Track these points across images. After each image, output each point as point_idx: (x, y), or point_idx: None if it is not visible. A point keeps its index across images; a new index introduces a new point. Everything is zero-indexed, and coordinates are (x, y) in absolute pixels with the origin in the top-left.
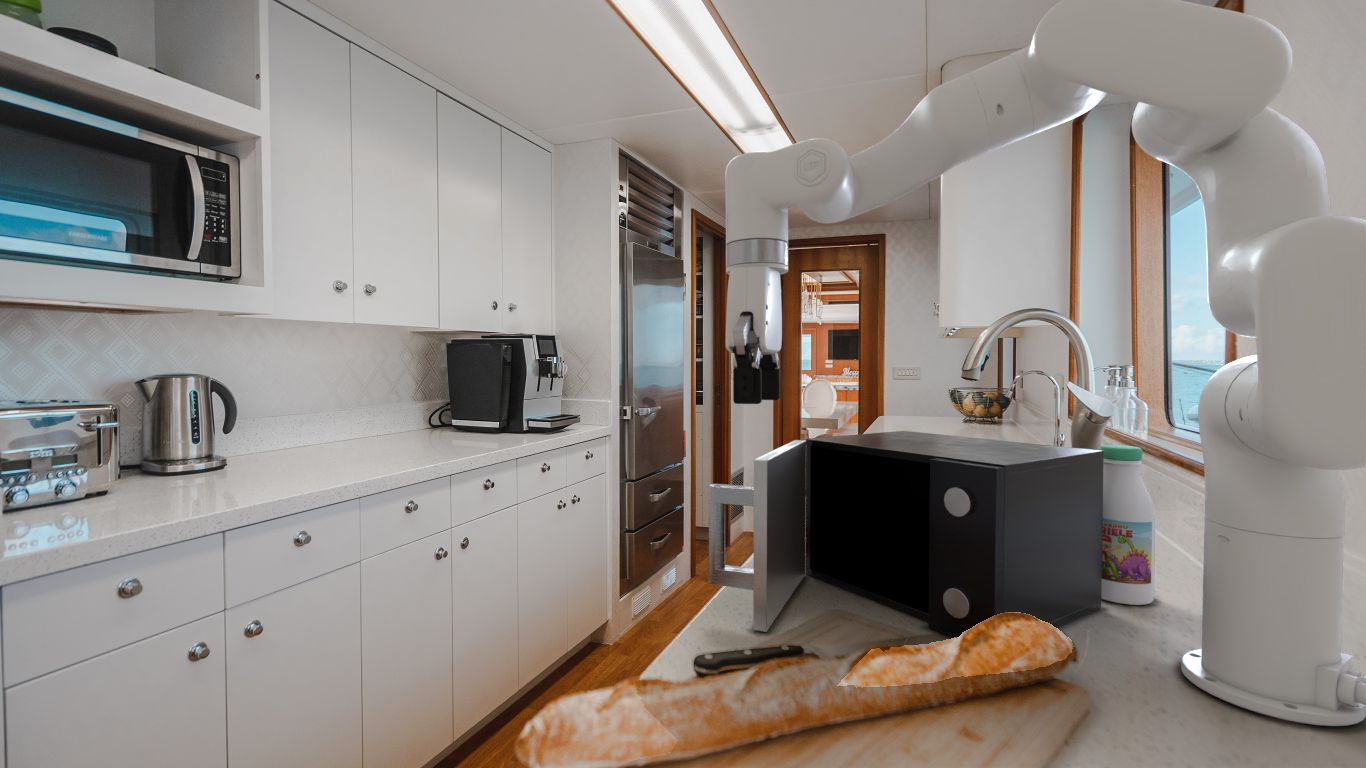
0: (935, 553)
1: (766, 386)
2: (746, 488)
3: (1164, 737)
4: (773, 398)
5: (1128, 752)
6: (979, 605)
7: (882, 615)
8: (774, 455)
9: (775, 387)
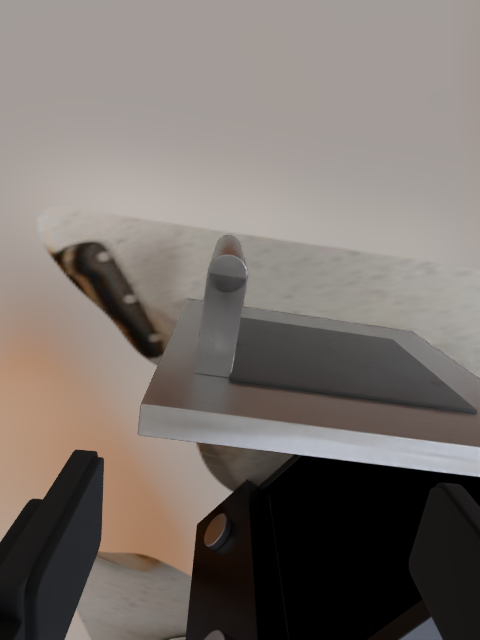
0: (245, 555)
1: (447, 578)
2: (203, 347)
3: (91, 594)
4: (413, 554)
5: None
6: (204, 550)
7: None
8: (233, 442)
9: (433, 609)
